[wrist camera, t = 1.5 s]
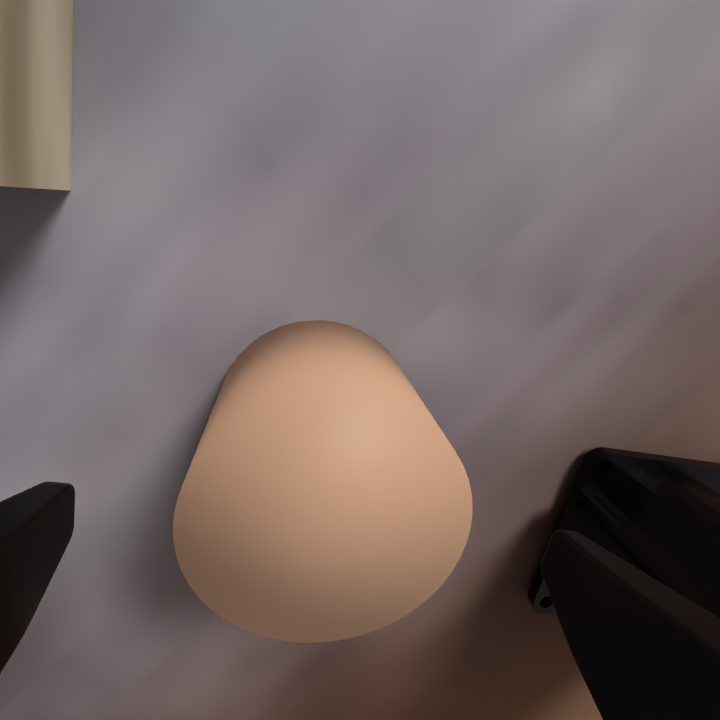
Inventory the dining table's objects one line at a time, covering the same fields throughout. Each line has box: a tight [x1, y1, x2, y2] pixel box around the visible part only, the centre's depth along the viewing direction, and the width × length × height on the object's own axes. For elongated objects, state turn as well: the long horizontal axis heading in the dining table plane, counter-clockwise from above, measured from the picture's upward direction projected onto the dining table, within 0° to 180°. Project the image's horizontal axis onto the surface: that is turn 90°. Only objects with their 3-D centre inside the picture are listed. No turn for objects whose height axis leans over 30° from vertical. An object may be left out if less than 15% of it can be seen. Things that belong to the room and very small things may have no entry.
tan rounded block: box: [173, 321, 473, 643], centre depth 10 cm, size 5×5×5 cm
